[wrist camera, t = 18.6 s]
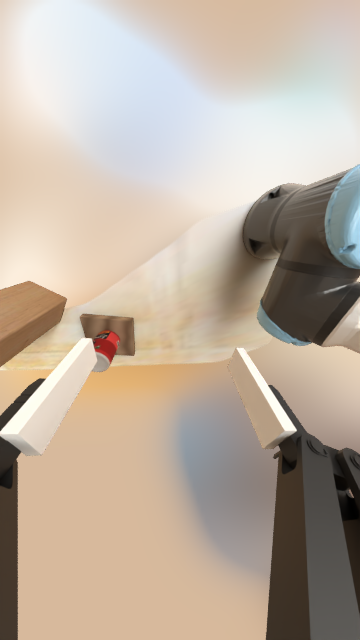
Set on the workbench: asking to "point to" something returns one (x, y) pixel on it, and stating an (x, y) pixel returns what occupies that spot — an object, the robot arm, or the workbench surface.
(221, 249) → the workbench surface
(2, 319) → the wooden block
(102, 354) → the canned food
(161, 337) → the workbench surface
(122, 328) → the walnut board
